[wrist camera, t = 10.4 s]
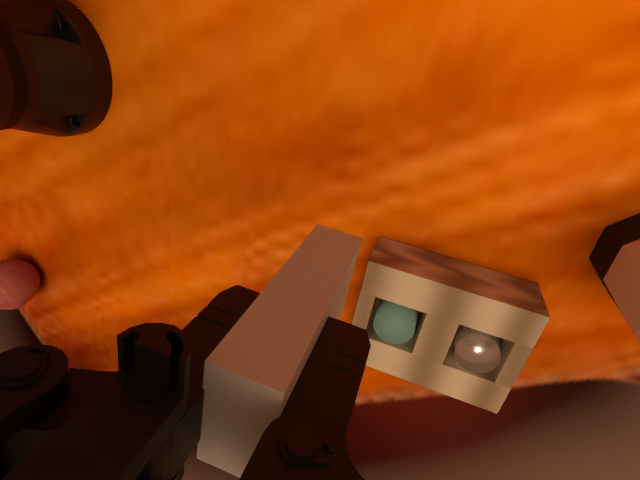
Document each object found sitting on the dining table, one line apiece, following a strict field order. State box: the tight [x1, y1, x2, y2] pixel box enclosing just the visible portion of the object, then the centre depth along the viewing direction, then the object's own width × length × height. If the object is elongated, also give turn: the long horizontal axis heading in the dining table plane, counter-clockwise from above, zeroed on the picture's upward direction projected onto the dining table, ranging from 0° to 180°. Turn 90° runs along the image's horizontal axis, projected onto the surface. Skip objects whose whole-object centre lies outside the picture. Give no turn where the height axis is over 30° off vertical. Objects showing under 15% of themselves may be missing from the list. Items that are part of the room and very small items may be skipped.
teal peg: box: [373, 299, 418, 344], centre depth 41 cm, size 4×4×6 cm
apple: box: [0, 259, 40, 310], centre depth 59 cm, size 7×7×8 cm
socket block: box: [352, 237, 550, 413], centre depth 41 cm, size 16×12×6 cm
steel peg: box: [455, 324, 501, 373], centre depth 39 cm, size 4×4×6 cm
